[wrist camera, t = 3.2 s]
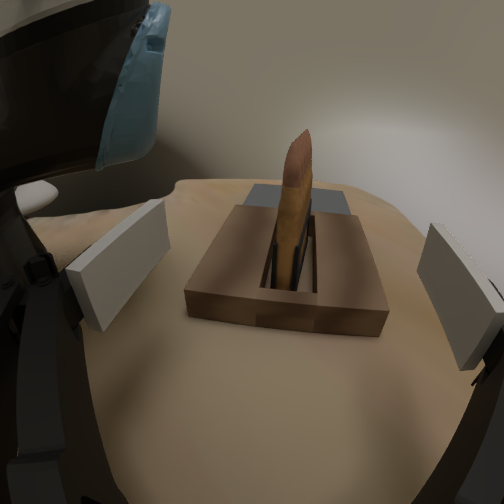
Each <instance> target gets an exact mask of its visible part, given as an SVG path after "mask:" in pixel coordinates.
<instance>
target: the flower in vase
mask: <svg viewBox="0 0 504 504" xmlns="http://www.w3.org/2000/svg"><path fill="white" fill-rule="evenodd" d="M15 195H16V199H17V203H18V206H19V209H20V211H21V212H22V214H23V215H26V214H30V213H33V212H35V211H38V210H40V209H42V208H43V207H45V206H47V205H49V204H50V203H51V202H52V201H53V200H54V199H55V198H56V197H57V195H58V191H57V189H56V188H55V187H54V186H52V185H51V184H49V183H47V182H45V181H43V180H40V181H36V182H32V183H28V184H25V185H21V186H18V188H17V190H16V191H15Z"/></svg>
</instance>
